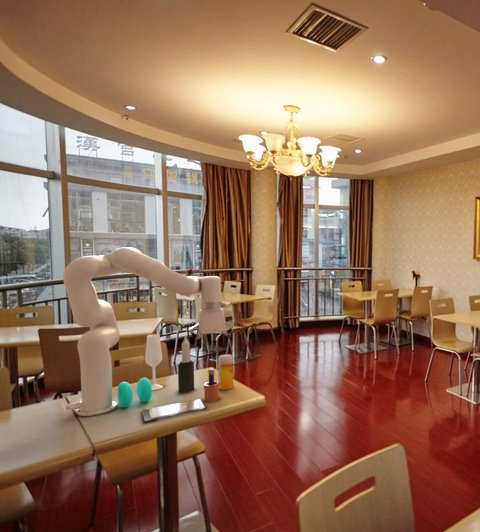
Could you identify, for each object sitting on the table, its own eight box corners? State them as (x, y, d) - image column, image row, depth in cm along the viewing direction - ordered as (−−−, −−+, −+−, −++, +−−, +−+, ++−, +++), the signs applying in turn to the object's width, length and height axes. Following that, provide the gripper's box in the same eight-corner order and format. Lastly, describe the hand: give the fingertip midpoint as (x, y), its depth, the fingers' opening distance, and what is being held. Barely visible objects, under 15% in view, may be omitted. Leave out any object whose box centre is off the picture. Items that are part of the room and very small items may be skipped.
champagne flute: (146, 386, 178) (145, 334, 177) (163, 384, 181) (162, 333, 180) (144, 391, 172) (143, 337, 171) (162, 388, 175) (161, 336, 174)
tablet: (144, 423, 140) (144, 420, 140) (142, 412, 150) (142, 409, 150) (205, 410, 152) (205, 407, 152) (200, 400, 161) (200, 398, 161)
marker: (209, 400, 161) (209, 370, 160) (208, 398, 162) (207, 369, 162) (214, 399, 162) (214, 369, 162) (213, 397, 164) (213, 368, 163)
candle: (188, 393, 169) (187, 336, 168) (177, 393, 169) (176, 336, 168) (195, 389, 174) (194, 334, 173) (184, 389, 174) (183, 334, 173)
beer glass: (235, 388, 176) (235, 355, 176) (221, 391, 172) (221, 358, 171) (229, 385, 180) (229, 353, 180) (216, 388, 176) (215, 355, 175)
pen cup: (205, 403, 158) (205, 386, 158) (203, 399, 163) (203, 382, 163) (220, 400, 162) (219, 383, 161) (217, 396, 166) (217, 380, 166)
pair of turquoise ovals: (116, 404, 157) (116, 380, 156) (145, 397, 164) (144, 374, 164) (123, 411, 150) (123, 385, 150) (153, 403, 158) (152, 379, 157)
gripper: (231, 303, 170) (231, 342, 171) (186, 306, 160) (187, 347, 161) (235, 305, 164) (236, 345, 165) (189, 308, 154) (190, 351, 155)
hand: (212, 346), depth 163 cm, fingers open, 9 cm apart
